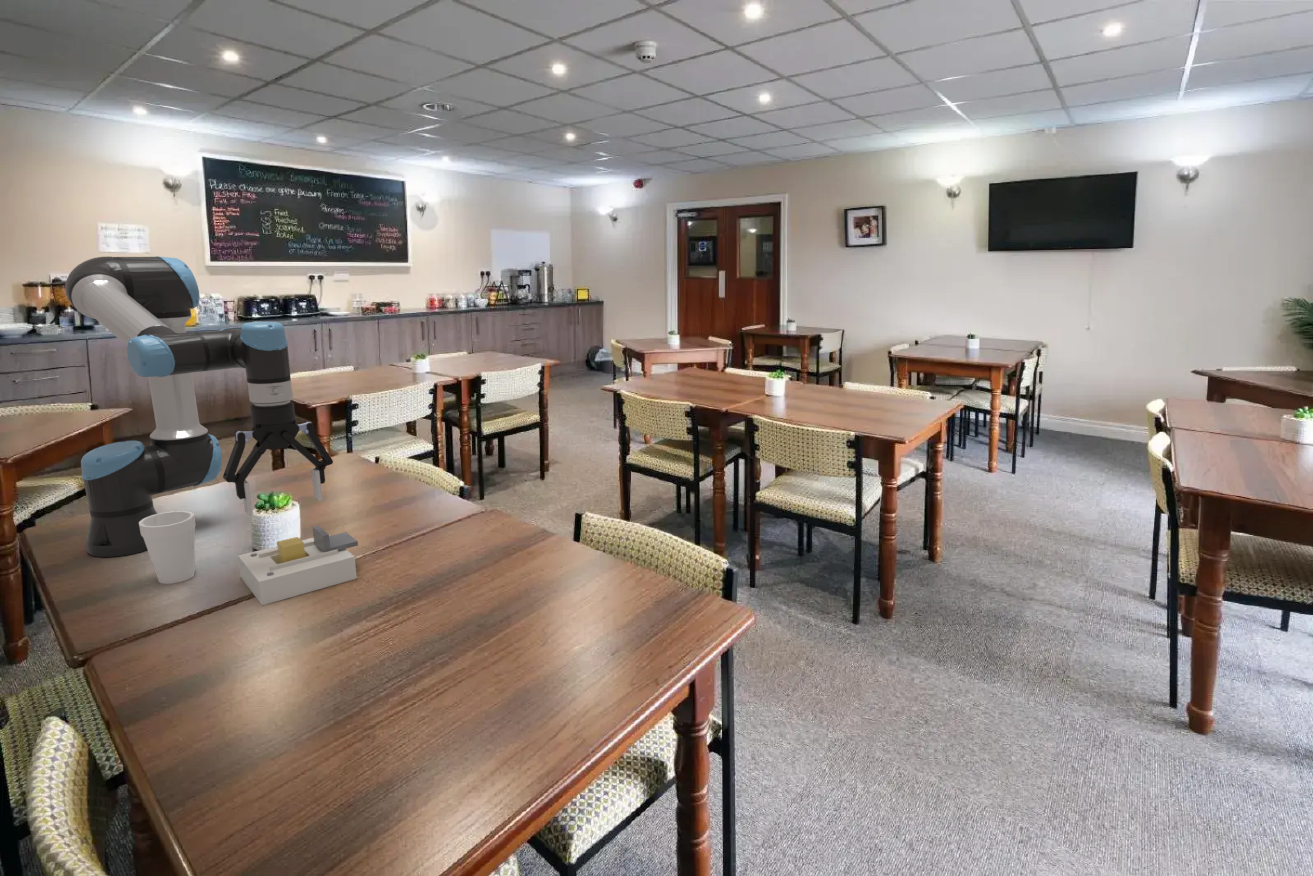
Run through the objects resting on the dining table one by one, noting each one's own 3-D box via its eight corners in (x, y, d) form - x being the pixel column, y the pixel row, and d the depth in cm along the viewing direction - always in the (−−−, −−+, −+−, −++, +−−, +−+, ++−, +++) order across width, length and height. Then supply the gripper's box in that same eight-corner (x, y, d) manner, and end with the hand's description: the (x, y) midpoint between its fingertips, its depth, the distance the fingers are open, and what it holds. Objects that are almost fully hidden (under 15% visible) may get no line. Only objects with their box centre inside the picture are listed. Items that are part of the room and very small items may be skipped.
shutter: (314, 544, 152) (312, 526, 151) (346, 536, 157) (344, 519, 156) (325, 553, 148) (323, 536, 147) (358, 545, 152) (356, 528, 151)
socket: (241, 577, 148) (237, 552, 147) (330, 554, 160) (327, 530, 158) (262, 605, 137) (258, 577, 135) (356, 578, 148) (354, 553, 147)
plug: (281, 577, 147) (276, 541, 145) (301, 572, 150) (297, 536, 148) (287, 583, 144) (282, 547, 142) (307, 578, 147) (303, 542, 145)
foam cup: (176, 589, 142) (165, 529, 139) (137, 584, 144) (126, 525, 141) (213, 569, 152) (204, 512, 148) (177, 565, 153) (167, 509, 150)
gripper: (203, 414, 127) (220, 525, 133) (343, 397, 143) (352, 497, 149) (195, 407, 133) (211, 514, 138) (330, 392, 149) (340, 488, 154)
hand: (284, 506), depth 144 cm, fingers open, 12 cm apart
